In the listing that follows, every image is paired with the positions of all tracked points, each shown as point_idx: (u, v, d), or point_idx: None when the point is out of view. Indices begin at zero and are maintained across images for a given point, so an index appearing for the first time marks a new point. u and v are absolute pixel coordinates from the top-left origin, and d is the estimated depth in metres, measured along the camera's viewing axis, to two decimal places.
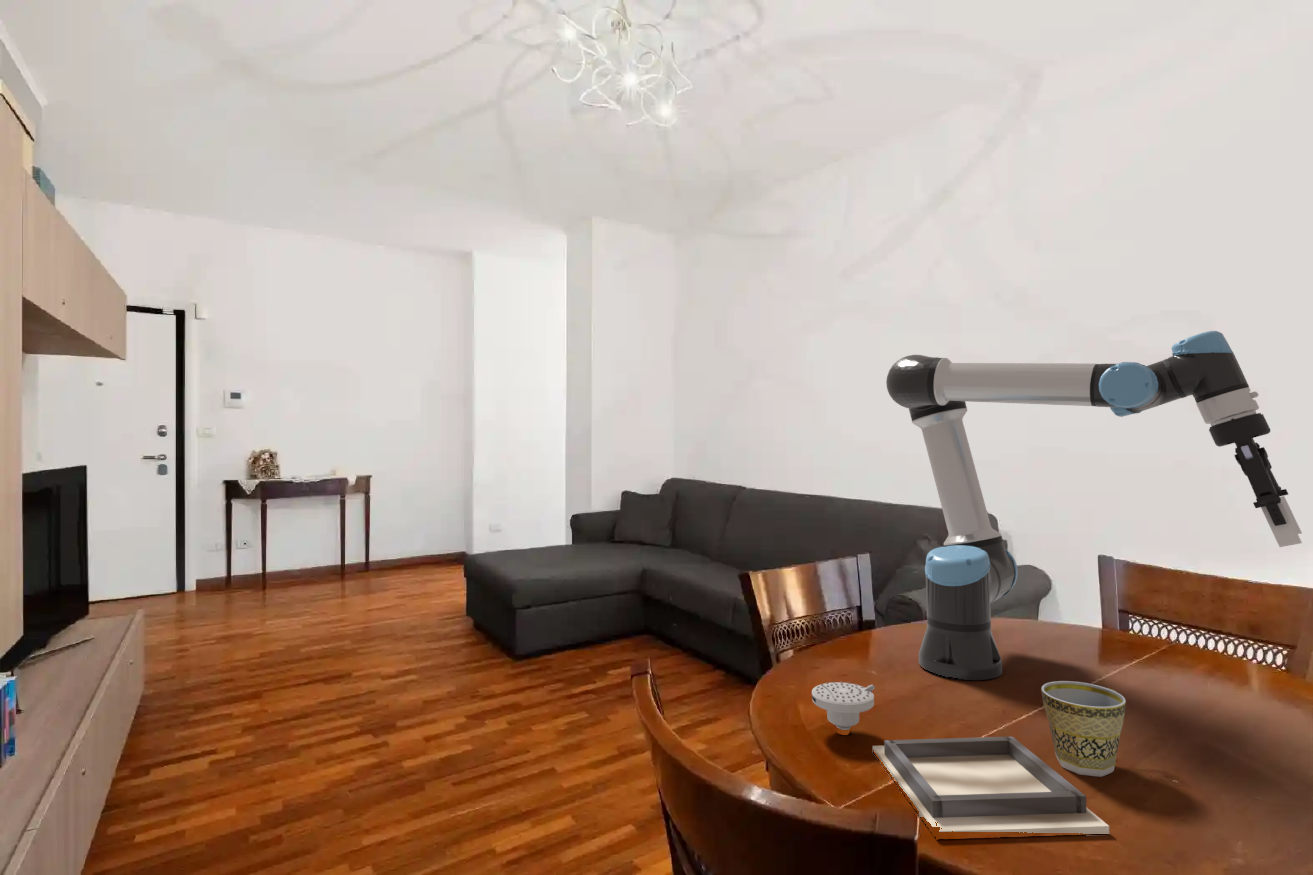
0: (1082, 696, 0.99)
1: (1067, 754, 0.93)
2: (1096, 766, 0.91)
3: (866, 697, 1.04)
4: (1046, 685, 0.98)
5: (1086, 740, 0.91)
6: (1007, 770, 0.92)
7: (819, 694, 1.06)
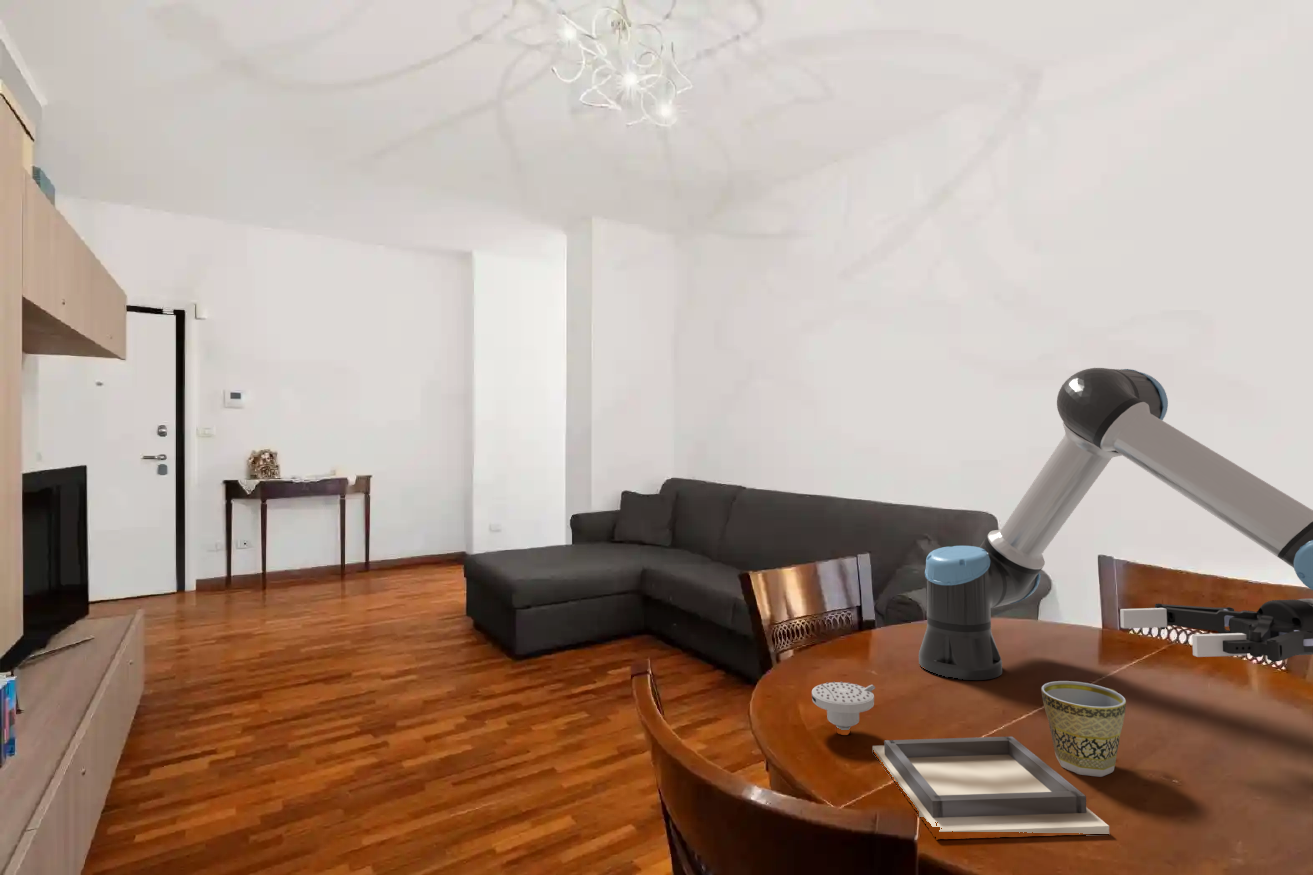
0: (1082, 696, 0.99)
1: (1067, 754, 0.93)
2: (1096, 766, 0.91)
3: (866, 697, 1.04)
4: (1046, 685, 0.98)
5: (1086, 740, 0.91)
6: (1007, 770, 0.92)
7: (819, 694, 1.06)
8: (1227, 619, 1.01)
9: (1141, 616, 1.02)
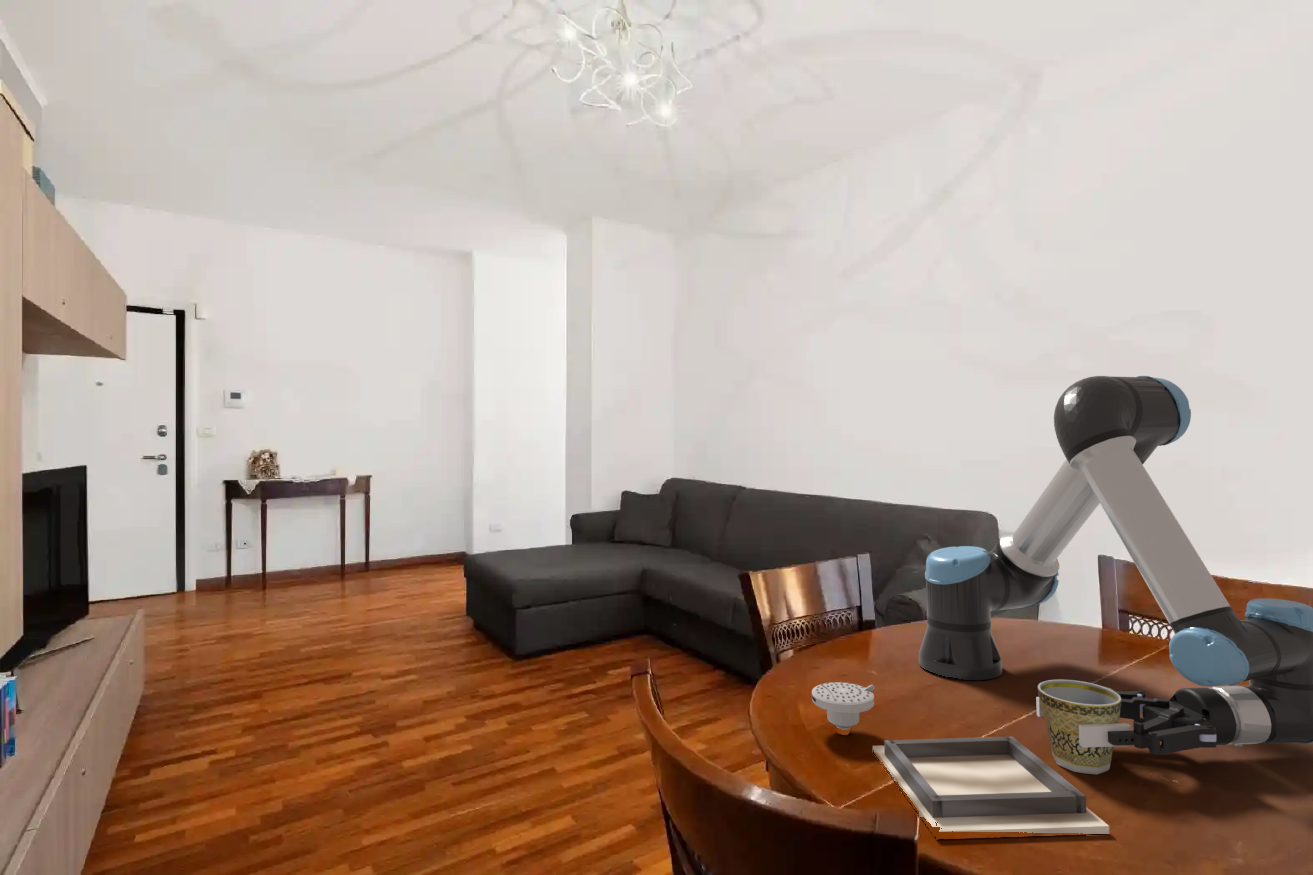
0: (1080, 695, 0.99)
1: (1062, 752, 0.94)
2: (1091, 764, 0.92)
3: (866, 697, 1.04)
4: (1043, 683, 0.99)
5: None
6: (1007, 770, 0.92)
7: (819, 694, 1.06)
8: (1141, 704, 1.00)
9: None
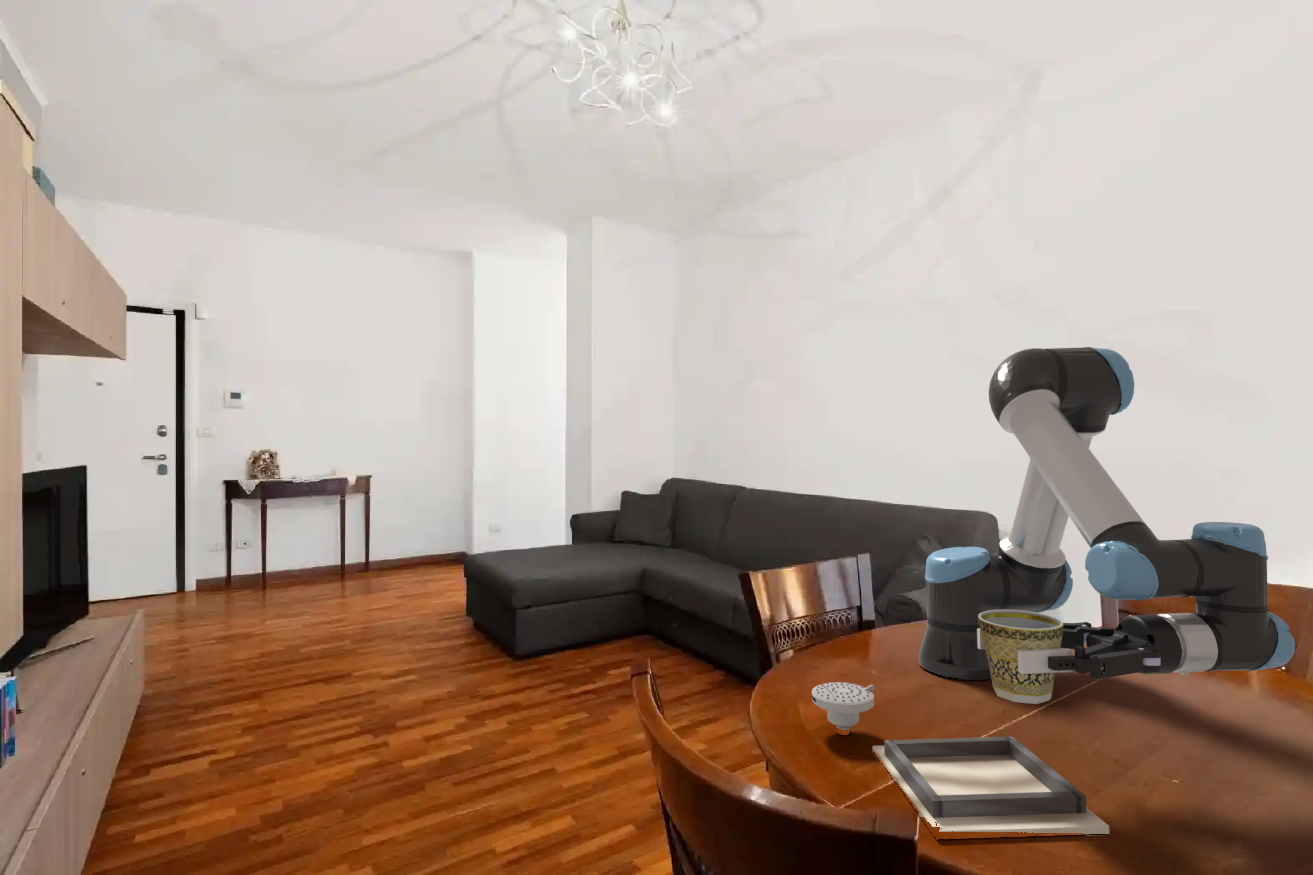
0: (1022, 625, 0.94)
1: (1002, 682, 0.89)
2: (1031, 692, 0.87)
3: (866, 697, 1.04)
4: (984, 613, 0.94)
5: None
6: (1007, 770, 0.92)
7: (819, 694, 1.06)
8: (1086, 635, 0.95)
9: None
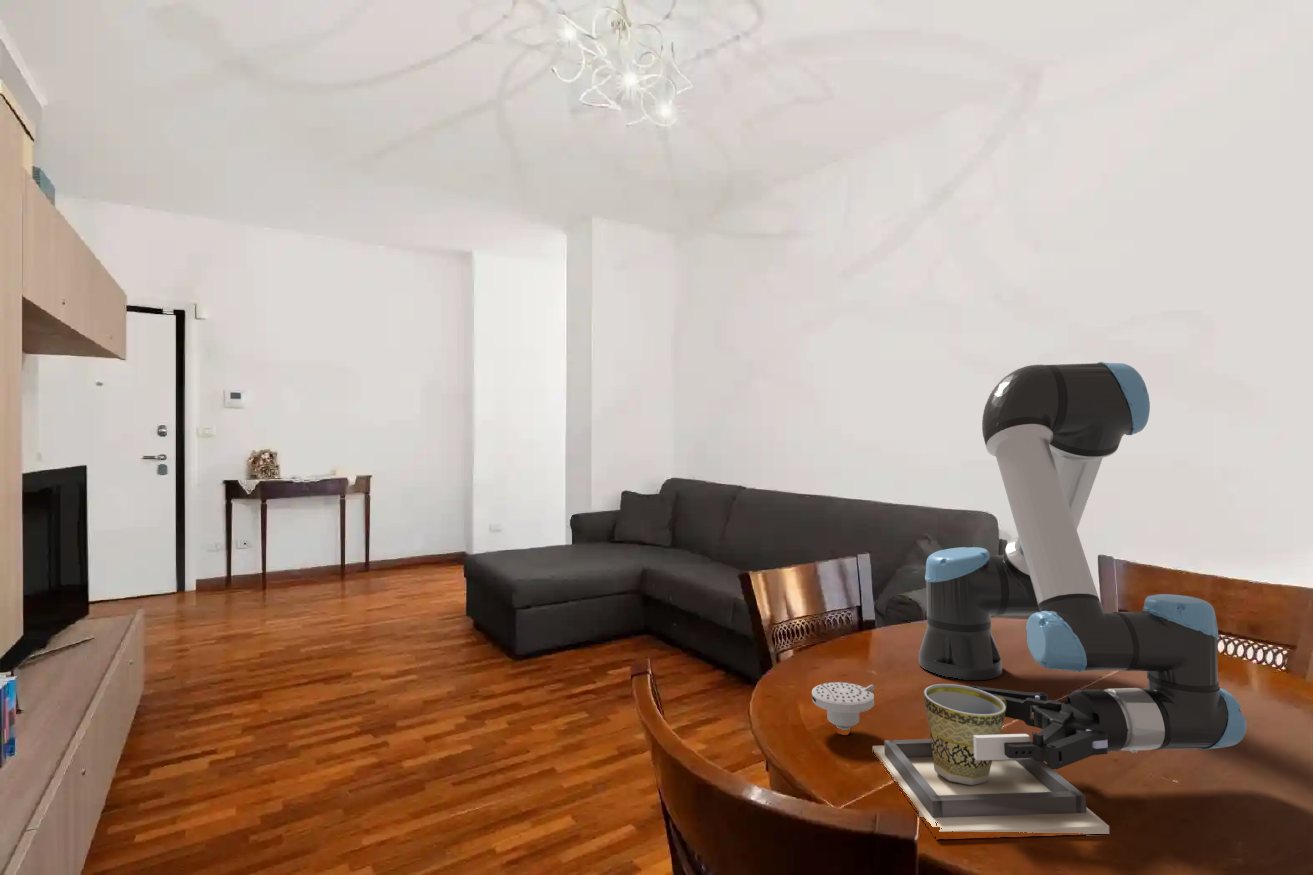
0: (969, 701, 0.94)
1: (940, 759, 0.90)
2: (966, 774, 0.88)
3: (866, 697, 1.04)
4: (932, 687, 0.95)
5: (957, 746, 0.87)
6: (1007, 770, 0.92)
7: (819, 694, 1.06)
8: (1038, 706, 0.94)
9: None
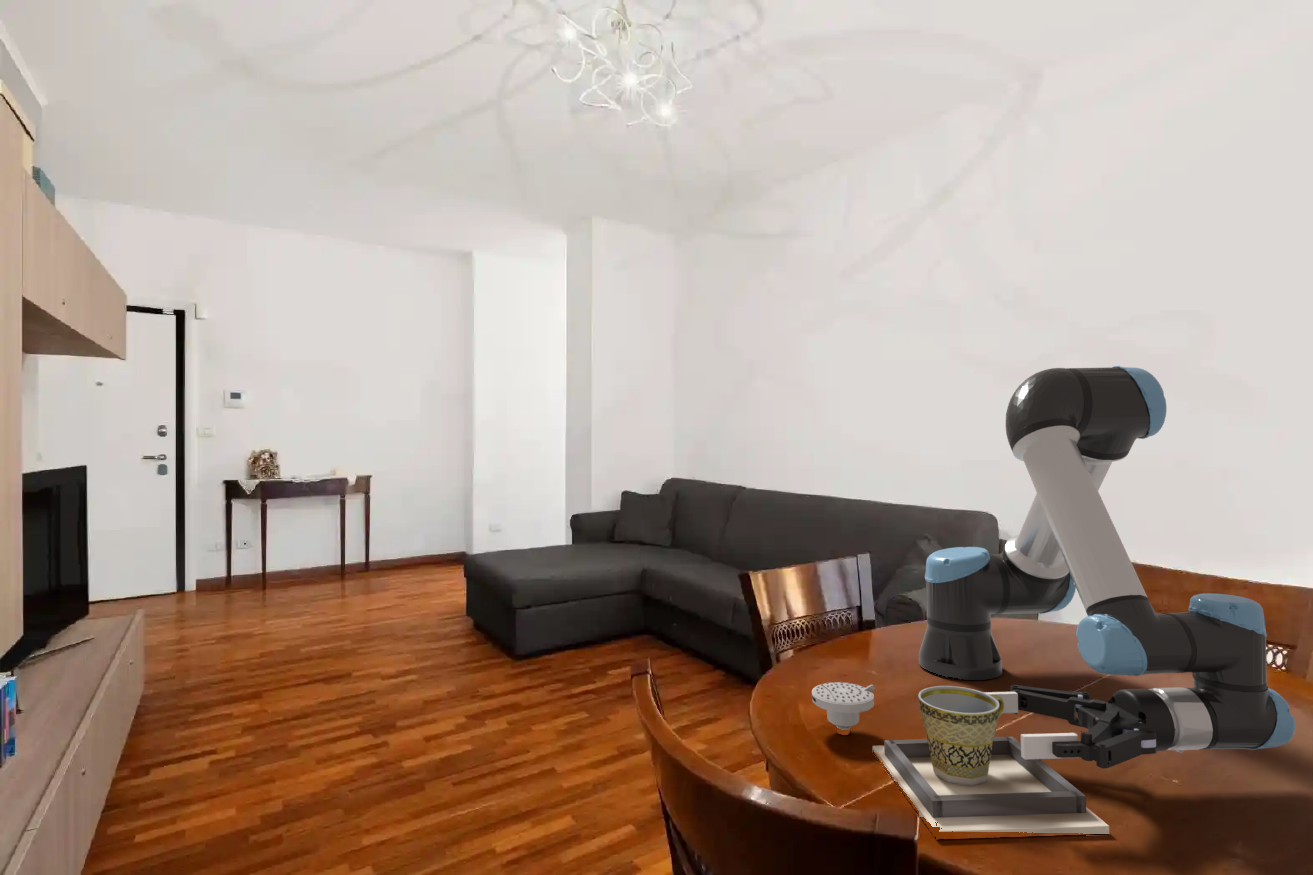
0: (966, 702, 0.95)
1: (938, 761, 0.90)
2: (964, 775, 0.88)
3: (866, 697, 1.04)
4: (927, 689, 0.95)
5: (953, 747, 0.88)
6: (1007, 770, 0.92)
7: (819, 694, 1.06)
8: (1081, 706, 0.94)
9: None
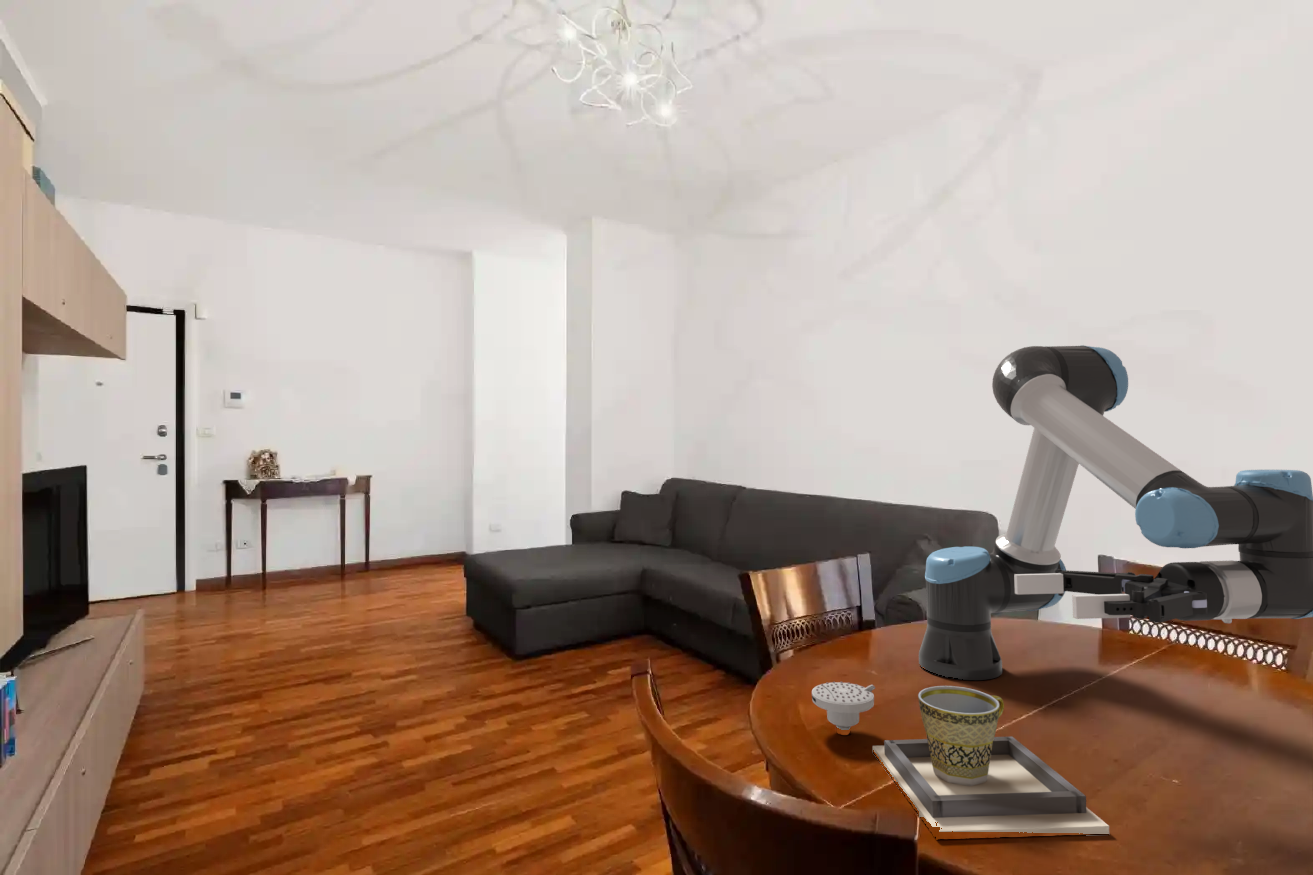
0: (966, 702, 0.95)
1: (938, 761, 0.90)
2: (964, 775, 0.88)
3: (866, 697, 1.04)
4: (927, 689, 0.95)
5: (953, 747, 0.88)
6: (1007, 770, 0.92)
7: (819, 694, 1.06)
8: None
9: (1036, 581, 0.96)
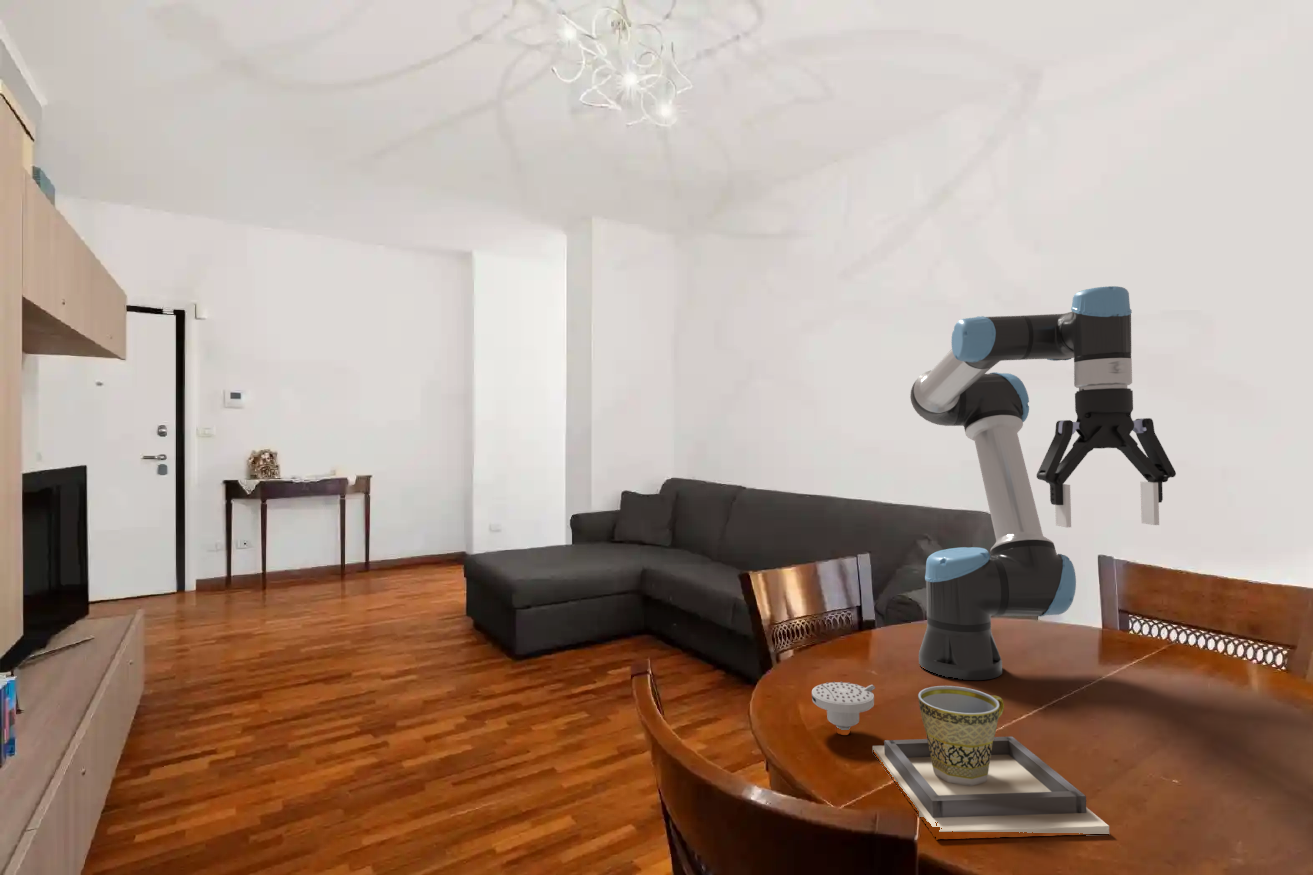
0: (966, 702, 0.95)
1: (938, 761, 0.90)
2: (964, 775, 0.88)
3: (866, 697, 1.04)
4: (927, 689, 0.95)
5: (953, 747, 0.88)
6: (1007, 770, 0.92)
7: (819, 694, 1.06)
8: (1136, 431, 1.06)
9: (1145, 506, 1.06)
